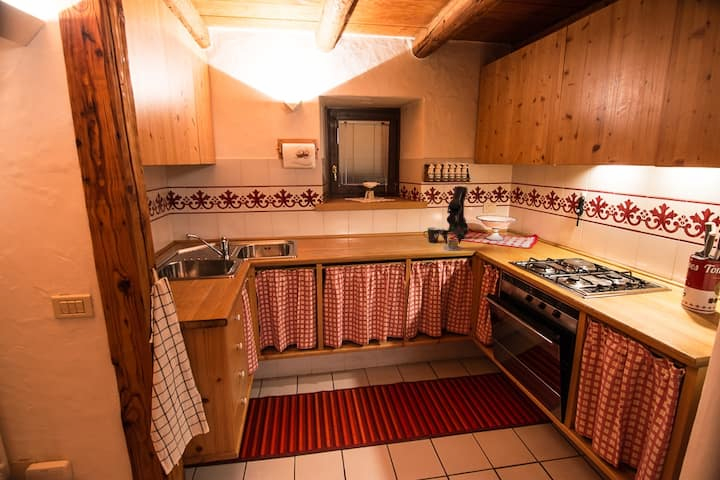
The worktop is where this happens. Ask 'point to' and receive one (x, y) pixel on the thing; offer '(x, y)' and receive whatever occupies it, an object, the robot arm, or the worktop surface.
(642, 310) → the worktop surface
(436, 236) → the coffee mug
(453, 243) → the block
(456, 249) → the coaster
